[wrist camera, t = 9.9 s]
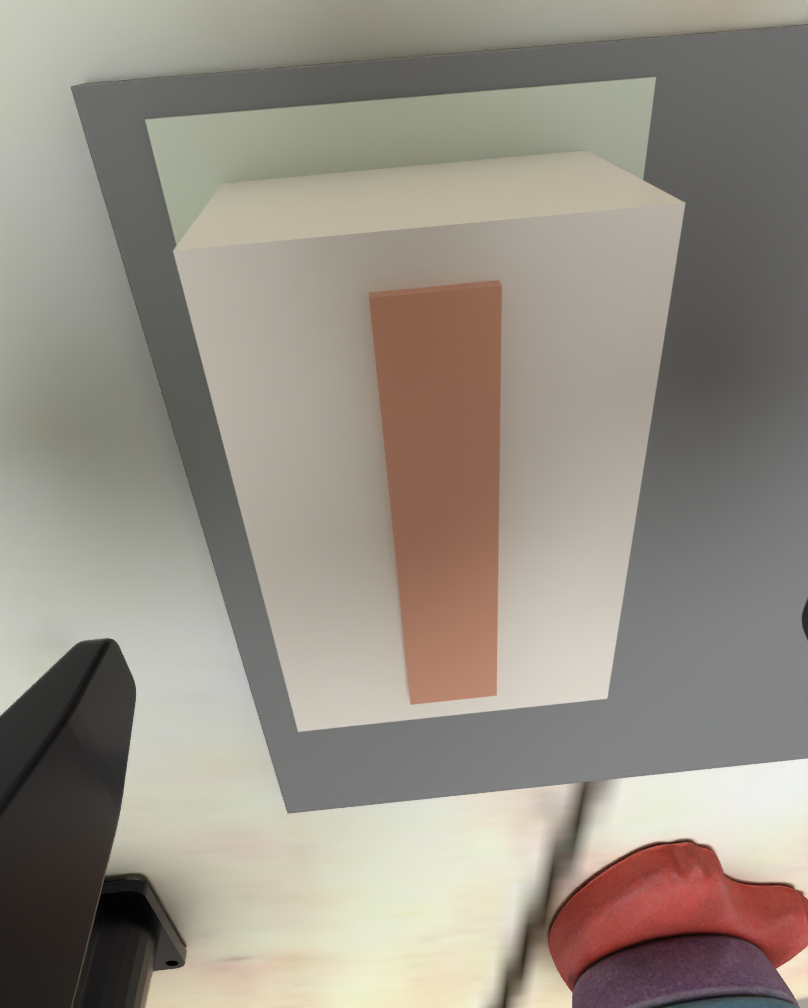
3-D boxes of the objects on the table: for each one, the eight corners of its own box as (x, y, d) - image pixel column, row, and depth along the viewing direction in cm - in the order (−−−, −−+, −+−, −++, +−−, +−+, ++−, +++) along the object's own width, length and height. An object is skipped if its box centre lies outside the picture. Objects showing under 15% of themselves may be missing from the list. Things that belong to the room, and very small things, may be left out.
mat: (944, 726, 23) (960, 745, 22) (288, 796, 22) (287, 816, 22) (1420, -26, 11) (1477, -29, 11) (82, 83, 11) (68, 86, 10)
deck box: (586, 150, 11) (692, 206, 8) (554, 564, 16) (610, 707, 13) (221, 183, 11) (168, 255, 8) (306, 590, 16) (298, 740, 13)
